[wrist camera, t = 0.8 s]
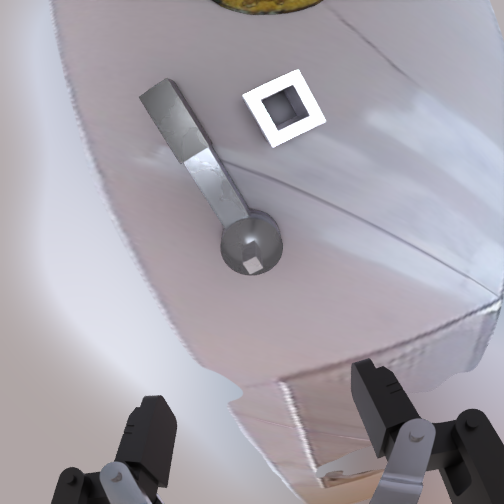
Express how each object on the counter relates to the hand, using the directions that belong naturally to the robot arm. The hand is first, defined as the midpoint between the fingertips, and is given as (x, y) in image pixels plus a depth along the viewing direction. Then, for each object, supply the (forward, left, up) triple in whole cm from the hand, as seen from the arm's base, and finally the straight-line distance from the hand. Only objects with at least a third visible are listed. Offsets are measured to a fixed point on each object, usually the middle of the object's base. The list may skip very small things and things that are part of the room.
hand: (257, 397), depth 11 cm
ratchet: (-5, -1, -23) cm, 23 cm away
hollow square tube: (-8, +8, -23) cm, 25 cm away
